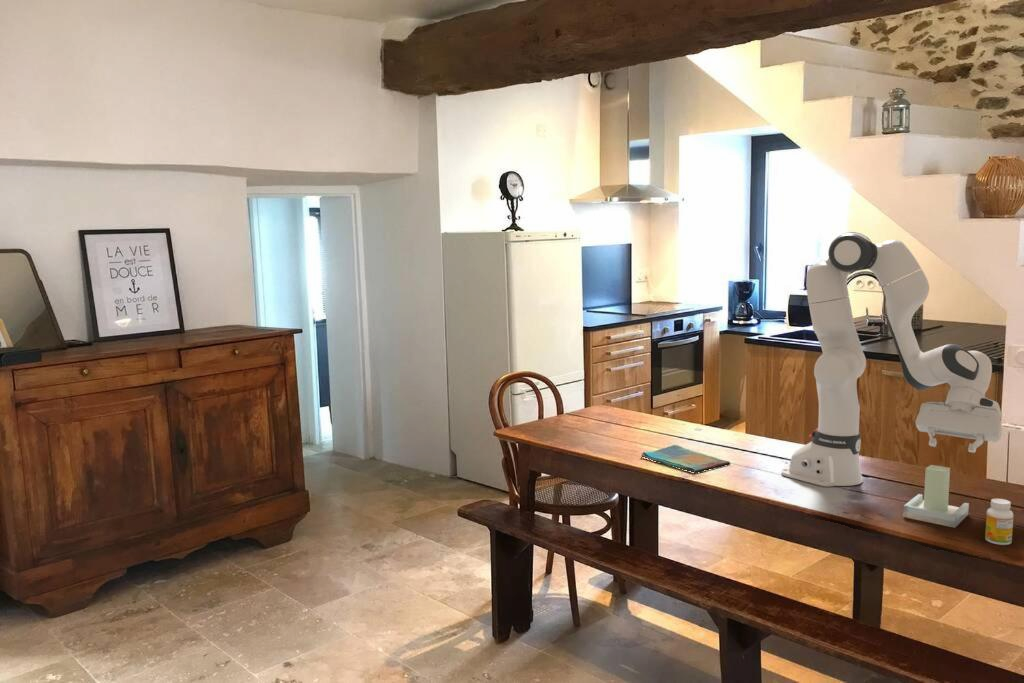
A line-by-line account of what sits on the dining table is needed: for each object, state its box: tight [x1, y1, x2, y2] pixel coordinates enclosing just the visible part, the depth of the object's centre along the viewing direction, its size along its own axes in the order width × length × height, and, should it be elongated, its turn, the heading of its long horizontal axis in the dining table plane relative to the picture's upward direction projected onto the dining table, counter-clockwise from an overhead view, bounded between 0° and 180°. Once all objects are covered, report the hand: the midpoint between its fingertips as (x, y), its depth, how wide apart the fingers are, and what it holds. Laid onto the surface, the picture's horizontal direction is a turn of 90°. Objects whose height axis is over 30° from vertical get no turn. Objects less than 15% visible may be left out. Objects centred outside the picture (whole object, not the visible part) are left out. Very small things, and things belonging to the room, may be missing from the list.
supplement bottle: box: [984, 498, 1014, 546], centre depth 193 cm, size 5×5×10 cm
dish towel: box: [641, 444, 731, 474], centre depth 264 cm, size 17×23×2 cm
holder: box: [902, 493, 970, 529], centre depth 211 cm, size 12×12×3 cm
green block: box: [923, 464, 951, 512], centre depth 210 cm, size 4×4×11 cm
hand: (951, 448), depth 217 cm, fingers open, 8 cm apart
